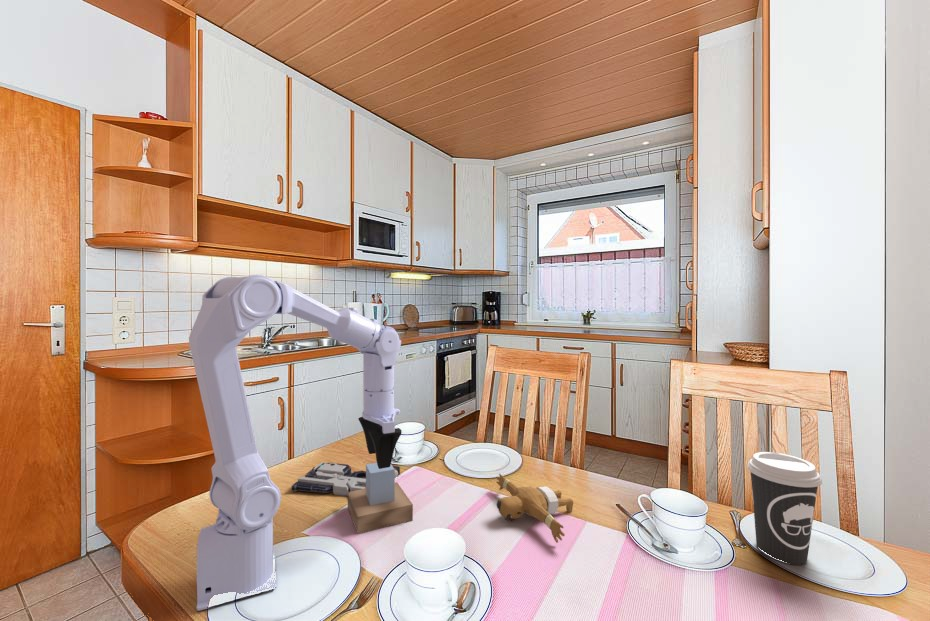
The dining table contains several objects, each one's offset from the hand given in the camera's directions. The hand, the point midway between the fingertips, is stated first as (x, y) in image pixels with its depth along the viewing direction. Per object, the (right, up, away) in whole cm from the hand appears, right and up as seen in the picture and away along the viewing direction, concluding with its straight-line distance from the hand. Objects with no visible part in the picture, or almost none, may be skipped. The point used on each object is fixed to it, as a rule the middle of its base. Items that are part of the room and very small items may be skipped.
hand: (378, 459), depth 77 cm
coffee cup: (+68, -11, -11) cm, 70 cm away
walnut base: (0, -10, 0) cm, 10 cm away
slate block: (0, -7, 0) cm, 7 cm away
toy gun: (-9, -11, +14) cm, 20 cm away
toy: (+30, -11, 0) cm, 32 cm away
